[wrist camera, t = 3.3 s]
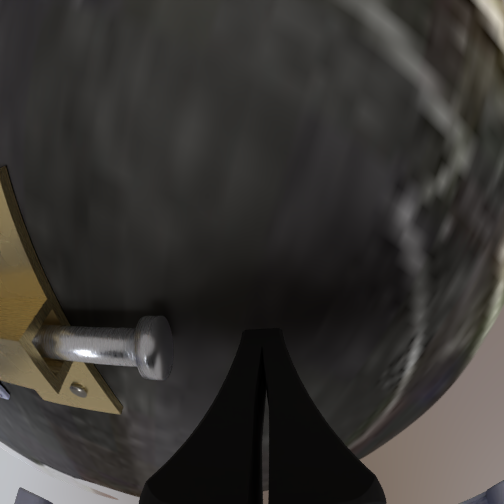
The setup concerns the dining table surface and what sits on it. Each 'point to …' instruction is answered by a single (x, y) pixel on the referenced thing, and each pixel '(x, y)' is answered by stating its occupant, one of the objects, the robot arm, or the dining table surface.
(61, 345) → the hinge pin
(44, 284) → the hinge leaves
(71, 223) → the dining table surface
